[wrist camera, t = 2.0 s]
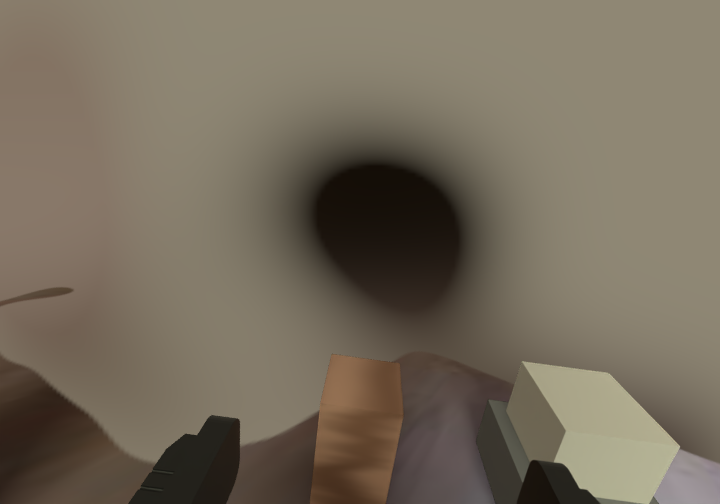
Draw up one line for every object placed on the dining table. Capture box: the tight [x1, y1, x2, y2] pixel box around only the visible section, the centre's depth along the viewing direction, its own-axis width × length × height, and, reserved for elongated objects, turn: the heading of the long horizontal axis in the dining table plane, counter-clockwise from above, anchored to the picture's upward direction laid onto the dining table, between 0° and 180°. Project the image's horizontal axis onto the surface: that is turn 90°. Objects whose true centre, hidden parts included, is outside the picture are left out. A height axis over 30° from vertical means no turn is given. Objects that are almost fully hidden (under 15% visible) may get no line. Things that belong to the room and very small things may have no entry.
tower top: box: [506, 361, 680, 504], centre depth 26 cm, size 7×7×5 cm
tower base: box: [476, 399, 659, 504], centre depth 27 cm, size 9×9×5 cm
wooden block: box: [310, 354, 404, 504], centre depth 25 cm, size 5×5×10 cm
